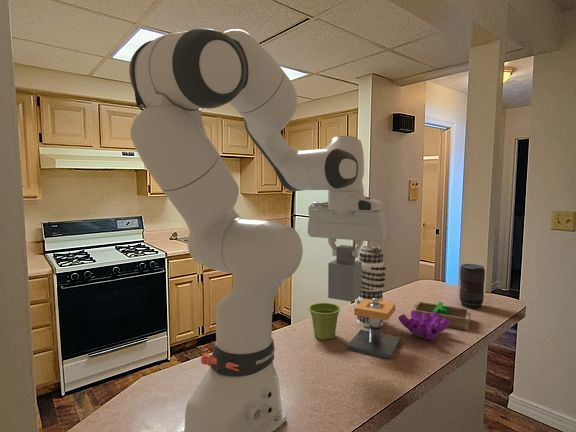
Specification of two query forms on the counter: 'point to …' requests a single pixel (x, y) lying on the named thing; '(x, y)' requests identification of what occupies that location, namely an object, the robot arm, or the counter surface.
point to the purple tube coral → (424, 324)
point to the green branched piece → (441, 309)
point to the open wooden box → (455, 315)
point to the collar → (374, 310)
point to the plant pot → (324, 319)
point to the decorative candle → (371, 277)
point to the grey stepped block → (344, 275)
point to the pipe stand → (374, 338)
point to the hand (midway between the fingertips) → (345, 256)
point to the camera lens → (472, 285)
